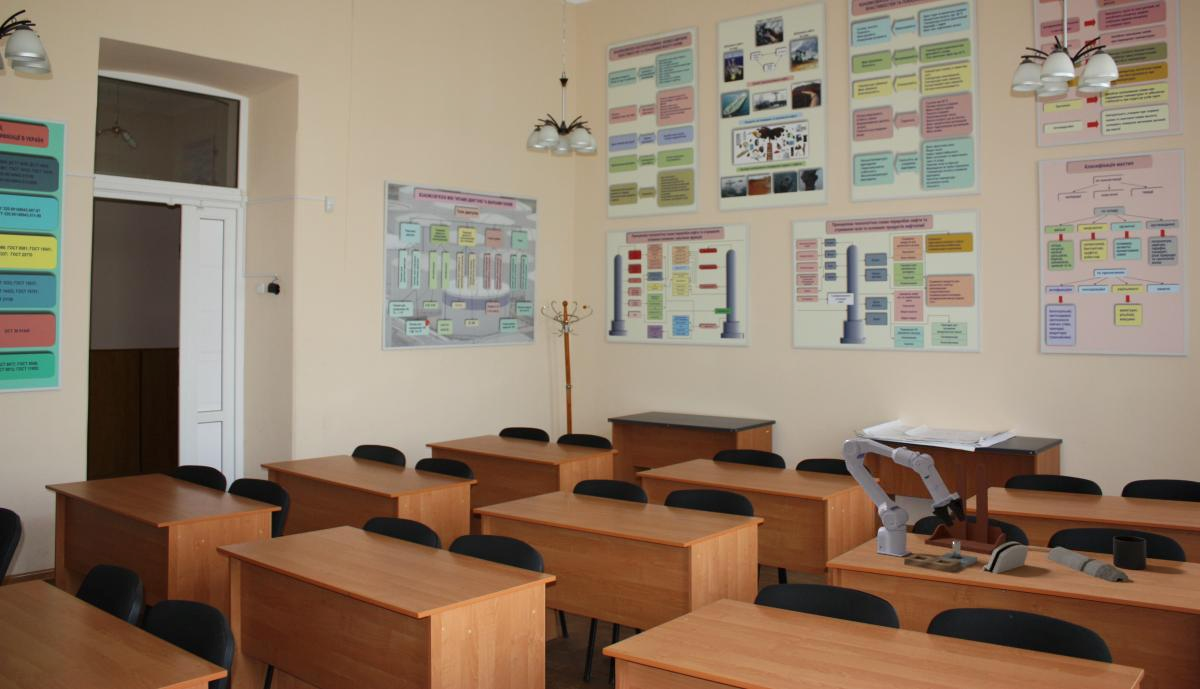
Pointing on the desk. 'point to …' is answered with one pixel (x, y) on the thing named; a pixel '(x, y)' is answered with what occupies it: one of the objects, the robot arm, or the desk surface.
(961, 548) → the hanging shelf
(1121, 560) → the mug
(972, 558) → the socket block
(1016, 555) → the grey arched plastic casing
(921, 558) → the rack
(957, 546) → the peg
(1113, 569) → the grey elongated piece
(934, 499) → the robot arm
